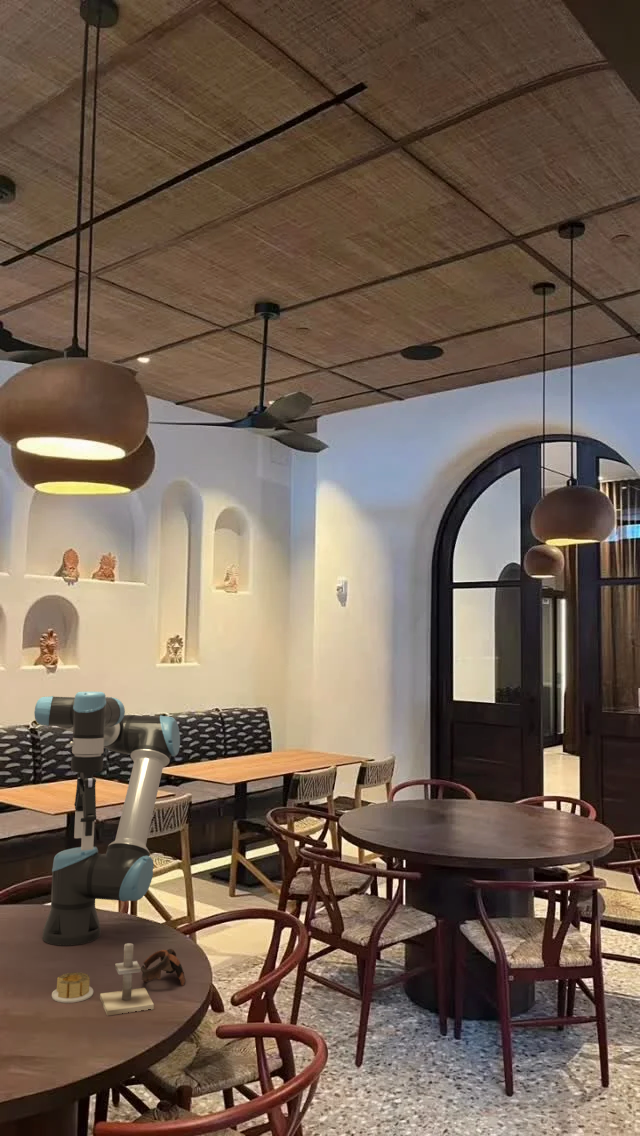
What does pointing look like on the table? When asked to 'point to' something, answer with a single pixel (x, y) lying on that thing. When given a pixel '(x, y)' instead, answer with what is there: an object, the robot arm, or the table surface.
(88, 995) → the coaster
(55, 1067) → the table surface
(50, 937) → the robot arm
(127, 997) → the peg stand
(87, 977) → the c link
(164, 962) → the brown black curved arch
